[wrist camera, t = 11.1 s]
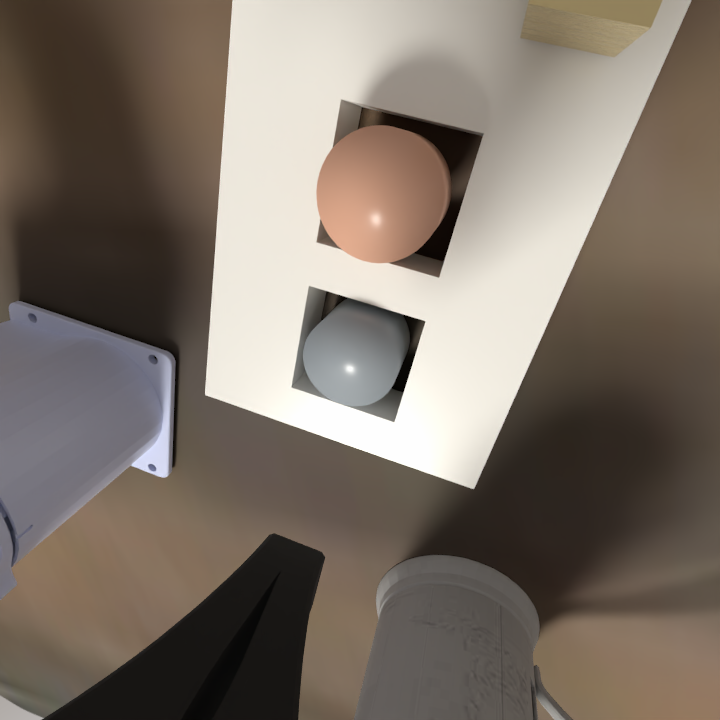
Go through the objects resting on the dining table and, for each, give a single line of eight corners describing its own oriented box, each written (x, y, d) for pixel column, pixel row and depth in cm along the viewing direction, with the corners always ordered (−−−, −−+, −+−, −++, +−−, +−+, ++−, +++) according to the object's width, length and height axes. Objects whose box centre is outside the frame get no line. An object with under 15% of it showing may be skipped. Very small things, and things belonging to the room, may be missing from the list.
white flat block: (233, 370, 22) (203, 395, 20) (295, -230, 13) (252, -313, 11) (476, 453, 20) (473, 491, 18) (741, -170, 11) (805, -253, 9)
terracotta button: (335, 230, 16) (307, 244, 14) (356, 118, 14) (328, 110, 12) (433, 258, 16) (422, 278, 13) (466, 145, 14) (461, 143, 11)
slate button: (320, 360, 20) (296, 388, 18) (335, 283, 18) (311, 303, 16) (397, 385, 20) (384, 418, 17) (420, 309, 18) (408, 334, 16)
